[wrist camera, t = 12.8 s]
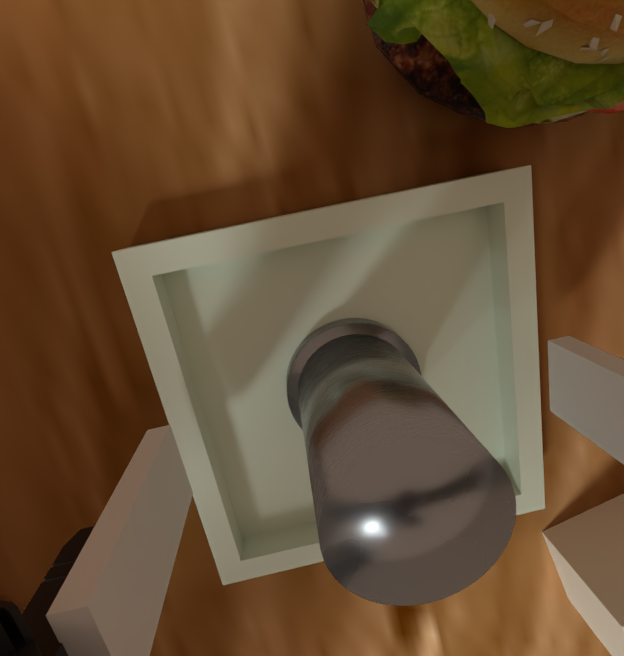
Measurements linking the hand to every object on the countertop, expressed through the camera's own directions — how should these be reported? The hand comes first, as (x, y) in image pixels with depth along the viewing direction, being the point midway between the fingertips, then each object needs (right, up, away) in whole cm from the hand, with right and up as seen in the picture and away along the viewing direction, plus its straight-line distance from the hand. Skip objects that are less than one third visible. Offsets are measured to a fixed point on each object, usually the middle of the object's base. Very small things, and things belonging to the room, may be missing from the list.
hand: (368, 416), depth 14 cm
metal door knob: (0, +1, +2) cm, 3 cm away
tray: (0, +1, +3) cm, 3 cm away
